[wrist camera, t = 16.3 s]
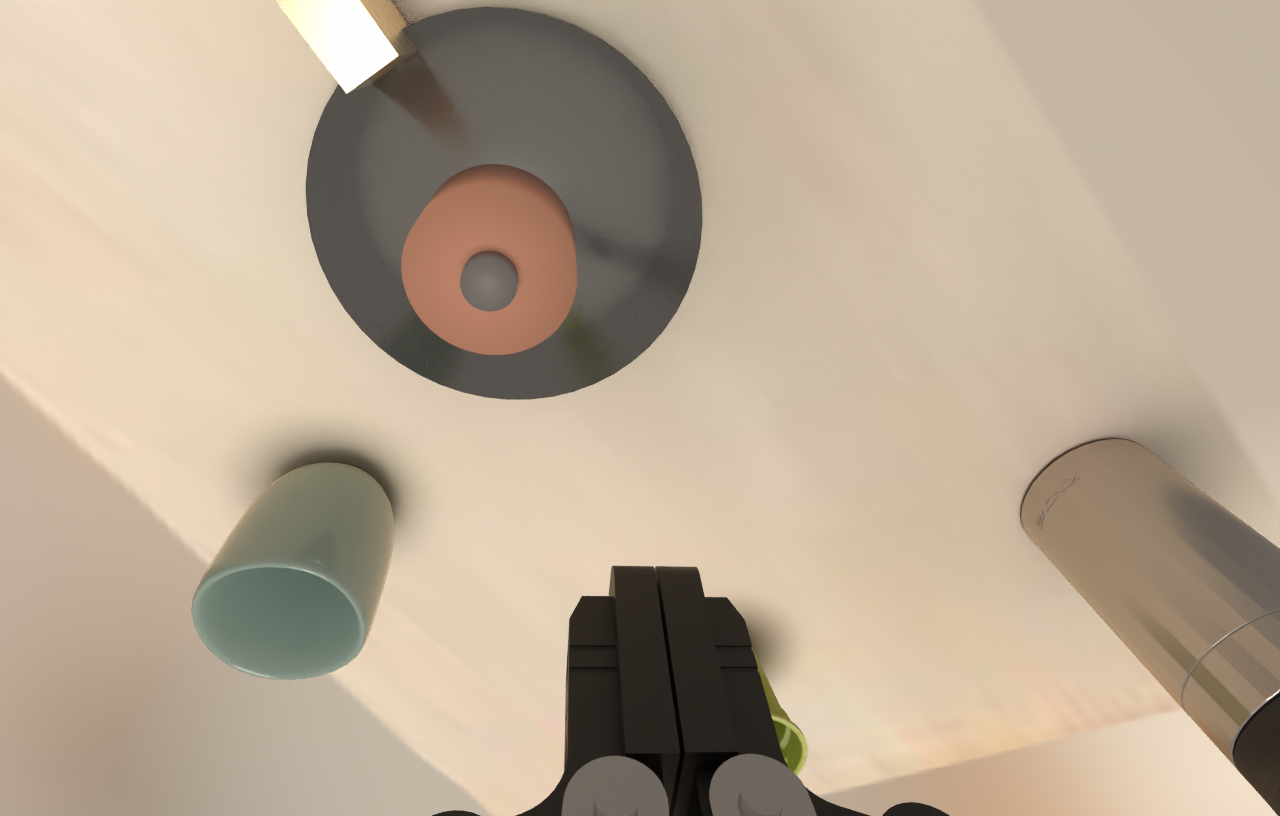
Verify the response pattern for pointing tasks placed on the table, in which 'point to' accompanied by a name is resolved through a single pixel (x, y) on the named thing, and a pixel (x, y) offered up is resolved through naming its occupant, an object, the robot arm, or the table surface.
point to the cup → (299, 575)
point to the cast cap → (492, 261)
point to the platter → (509, 135)
